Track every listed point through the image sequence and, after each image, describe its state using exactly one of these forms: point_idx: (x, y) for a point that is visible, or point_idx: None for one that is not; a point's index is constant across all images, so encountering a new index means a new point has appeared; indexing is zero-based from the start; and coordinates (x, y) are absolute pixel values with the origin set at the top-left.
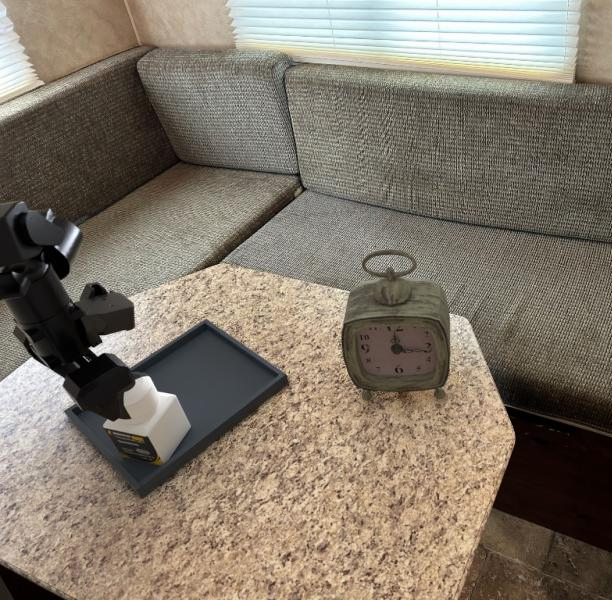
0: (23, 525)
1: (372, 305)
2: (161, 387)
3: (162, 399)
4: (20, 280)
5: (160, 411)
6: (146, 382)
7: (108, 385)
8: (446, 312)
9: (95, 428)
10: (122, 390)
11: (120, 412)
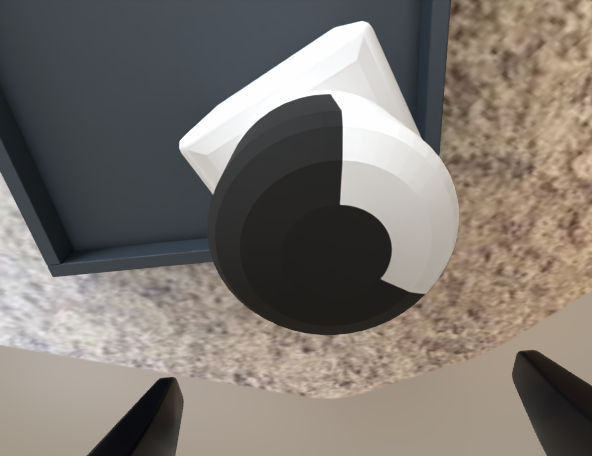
0: (292, 375)
1: None
2: (97, 18)
3: (352, 86)
4: None
5: (402, 123)
6: (402, 156)
7: None
8: None
9: (149, 229)
10: (358, 280)
11: (565, 370)
